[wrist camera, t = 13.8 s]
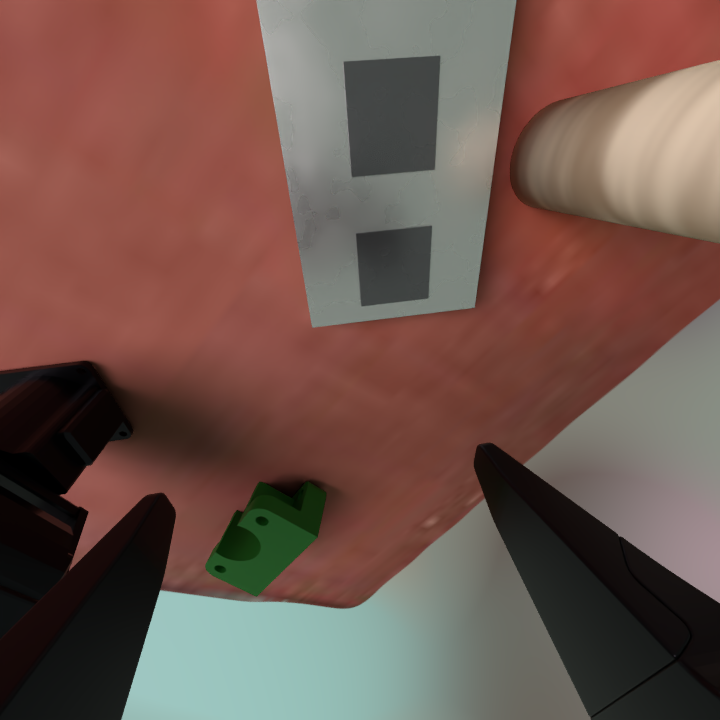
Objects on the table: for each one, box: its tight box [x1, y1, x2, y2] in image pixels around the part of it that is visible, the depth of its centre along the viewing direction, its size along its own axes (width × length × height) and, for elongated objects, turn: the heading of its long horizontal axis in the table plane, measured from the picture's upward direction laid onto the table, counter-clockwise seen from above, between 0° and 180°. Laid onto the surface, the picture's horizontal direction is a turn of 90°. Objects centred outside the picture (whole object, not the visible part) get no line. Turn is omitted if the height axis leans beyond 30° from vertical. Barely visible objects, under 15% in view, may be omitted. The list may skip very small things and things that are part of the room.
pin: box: [510, 60, 720, 243], centre depth 12 cm, size 5×5×13 cm
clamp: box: [205, 481, 326, 597], centre depth 28 cm, size 11×6×8 cm, turn 138°
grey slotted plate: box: [256, 0, 516, 327], centre depth 13 cm, size 10×26×2 cm, turn 4°
